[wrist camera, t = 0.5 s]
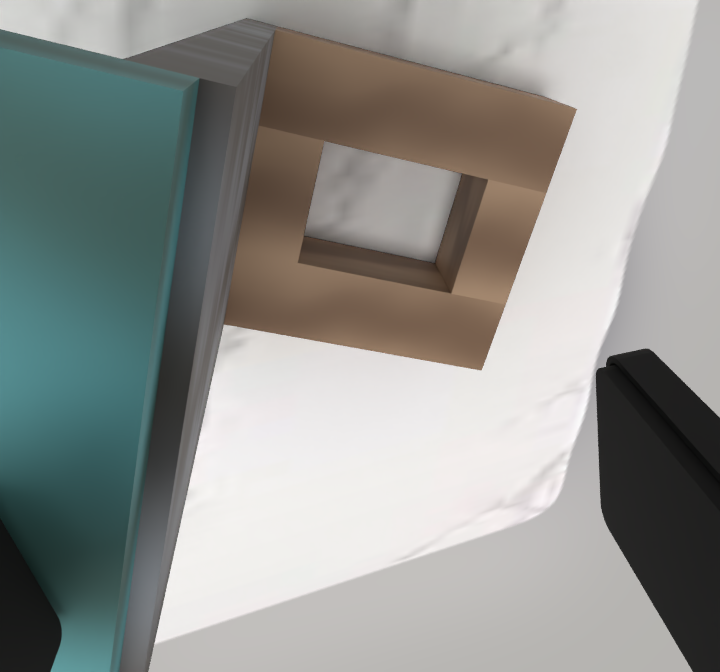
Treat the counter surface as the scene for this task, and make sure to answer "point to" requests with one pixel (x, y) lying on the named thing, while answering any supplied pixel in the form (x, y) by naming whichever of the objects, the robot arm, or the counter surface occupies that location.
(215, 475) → the counter surface
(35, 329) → the socket station
